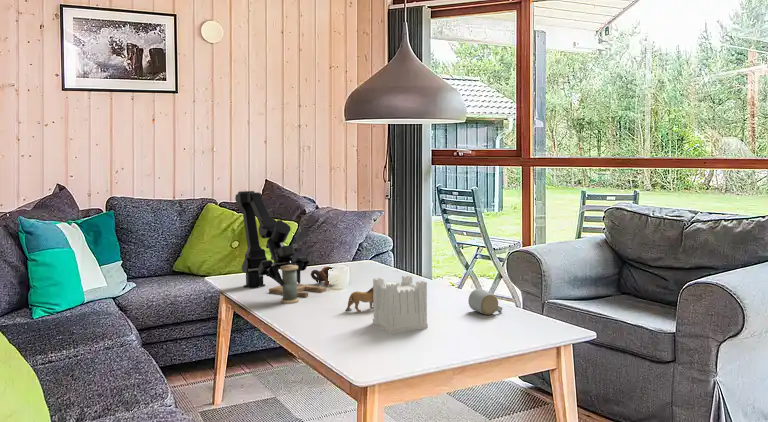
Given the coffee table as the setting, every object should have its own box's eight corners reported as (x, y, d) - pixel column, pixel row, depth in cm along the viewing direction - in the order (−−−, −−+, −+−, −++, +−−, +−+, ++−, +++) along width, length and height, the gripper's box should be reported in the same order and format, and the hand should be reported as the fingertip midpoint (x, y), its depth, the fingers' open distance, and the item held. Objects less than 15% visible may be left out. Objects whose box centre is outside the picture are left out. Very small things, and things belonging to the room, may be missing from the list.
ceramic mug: (481, 317, 217) (482, 293, 216) (467, 311, 224) (468, 289, 223) (507, 313, 222) (508, 291, 221) (493, 308, 229) (493, 286, 228)
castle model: (372, 322, 211) (372, 278, 209) (414, 317, 217) (414, 274, 215) (389, 332, 199) (389, 285, 198) (433, 327, 205) (433, 281, 204)
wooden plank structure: (269, 292, 257) (268, 276, 257) (290, 286, 268) (290, 270, 268) (305, 297, 248) (305, 280, 247) (326, 291, 259) (326, 274, 258)
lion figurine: (380, 306, 233) (379, 281, 232) (387, 309, 229) (387, 283, 228) (342, 311, 226) (341, 285, 226) (348, 314, 222) (348, 288, 221)
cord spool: (277, 302, 240) (276, 266, 239) (288, 298, 246) (288, 264, 245) (291, 304, 237) (290, 268, 236) (302, 300, 243) (301, 265, 241)
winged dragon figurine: (338, 282, 278) (342, 267, 274) (335, 296, 270) (339, 281, 266) (310, 275, 277) (313, 260, 273) (306, 289, 269) (310, 274, 265)
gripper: (260, 239, 238) (273, 273, 229) (306, 235, 248) (321, 268, 240) (252, 257, 245) (265, 292, 237) (297, 253, 255) (311, 286, 247)
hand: (291, 284), depth 240 cm, fingers open, 6 cm apart
